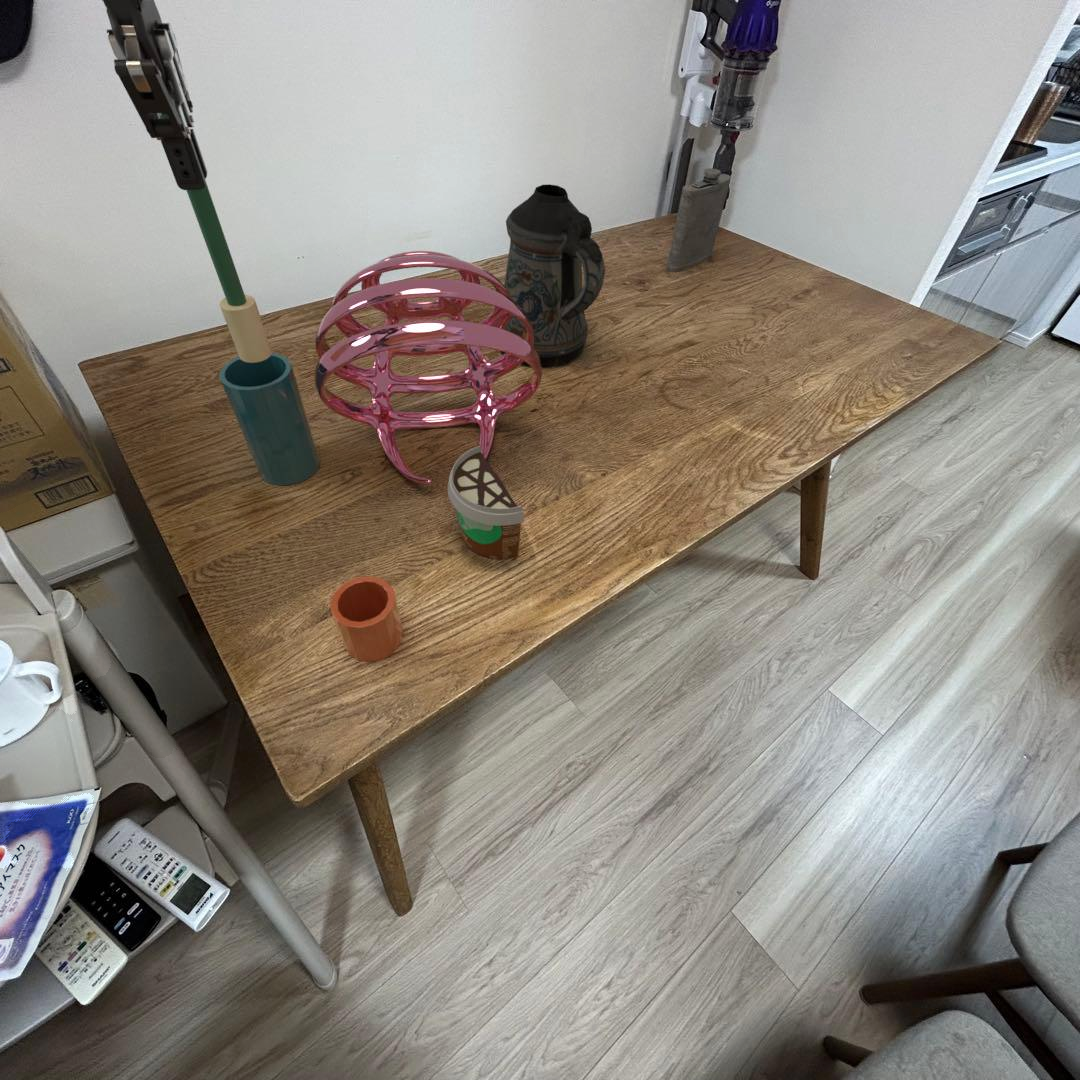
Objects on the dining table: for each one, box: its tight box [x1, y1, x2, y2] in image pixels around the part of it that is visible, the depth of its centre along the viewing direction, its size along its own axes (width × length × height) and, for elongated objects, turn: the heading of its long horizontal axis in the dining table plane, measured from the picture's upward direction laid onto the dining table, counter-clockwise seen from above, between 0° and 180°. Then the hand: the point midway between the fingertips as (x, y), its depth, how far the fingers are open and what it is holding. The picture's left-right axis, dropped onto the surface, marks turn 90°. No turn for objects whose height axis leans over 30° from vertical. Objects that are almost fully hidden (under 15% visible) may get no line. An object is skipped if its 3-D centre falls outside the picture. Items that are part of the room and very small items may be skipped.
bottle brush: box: [160, 114, 273, 363], centre depth 58 cm, size 3×3×22 cm
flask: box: [666, 167, 732, 273], centre depth 124 cm, size 4×14×18 cm, turn 134°
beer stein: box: [499, 184, 606, 369], centre depth 96 cm, size 16×19×25 cm
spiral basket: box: [314, 250, 543, 486], centre depth 76 cm, size 28×28×27 cm
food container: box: [447, 445, 525, 560], centre depth 71 cm, size 12×6×10 cm, turn 27°
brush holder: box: [330, 575, 404, 663], centre depth 62 cm, size 6×6×7 cm
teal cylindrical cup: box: [218, 352, 321, 486], centre depth 77 cm, size 8×8×15 cm
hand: (194, 182), depth 53 cm, fingers closed on bottle brush, 2 cm apart
